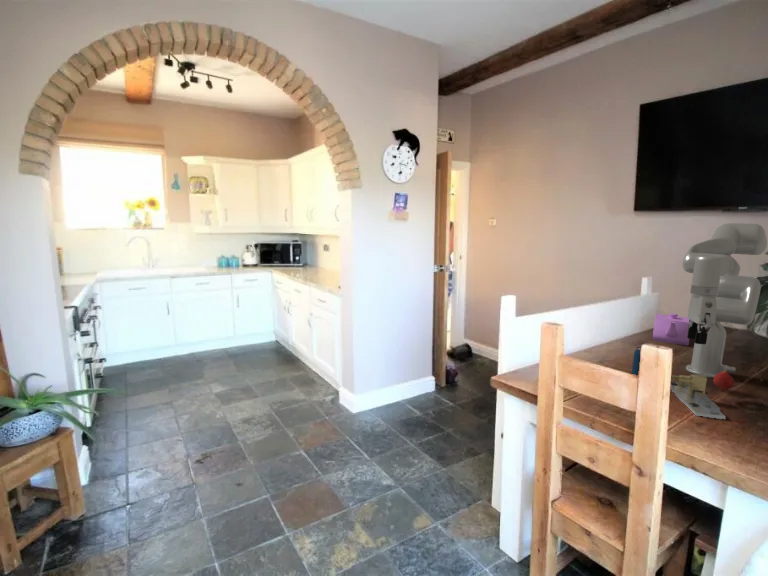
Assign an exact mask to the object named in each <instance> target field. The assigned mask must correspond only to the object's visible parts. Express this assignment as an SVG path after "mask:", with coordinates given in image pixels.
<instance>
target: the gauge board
mask: <svg viewBox="0 0 768 576" xmlns="http://www.w3.org/2000/svg"><path fill="white" fill-rule="evenodd" d="M670 379H672V381H670V382H671V390H672V391H671V390H670V391H671V392H672V393H673V392H674V393H675V394H674V393H673V394H674V395H675V396H676V397H677V398H678V400H679V401H680V402H681V403H684V404H685V405H686V406H687V407H688V408H689V409H690V410H691V411H692V412H693V413H694V414H695V415H696V416H695V415H694V414H693V413H692V412H691V411H690V410H689V409H688V408H687V407H686V406H685V405H684V404H683V405H684V406H685V407H686V408H687V409H688V410H689V411H690V412H691V413H692V414H693V415H694V416H695V417H699V416H703V417H702V418H707V417H709V418H708V419H714V418H716V419H717V420H722V419H724V421H725V420H726V415H725V414H724V413H723V412H722V411H721V408H720V407H719V406H718V405H717V404H716V403H715V402H714V401H712V399H710V397H708V396H707V395H706V394H704V393H703V392H702V391H697V390H693V393H692V395H689V394H688V393H687V391H688V386H689V383H686V388H683V383H684V382H678V381H677V382H676V379H677V380H678V379H684V380H690V375H682V374H679V375H673V374H672V376H671V378H670Z"/></svg>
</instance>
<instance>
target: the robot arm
mask: <svg viewBox="0 0 768 576" xmlns="http://www.w3.org/2000/svg"><path fill="white" fill-rule="evenodd" d="M766 234H767V233H766V230H765V229H764V227H763V226H762V225H760V224H758V223H739V222H738V223H737V222H735V223H734V222H731V223H724V224H721V225H719V226H718V227H717V228H716V229H715V231H714V233H713V234H712V236H711V238H710V239H707V240H704V241H701V242H698V243H696V244H693V245H692V246H691V247H689V249H688V250H687V252H686V254H684V257H683V260H682V269H683V270H684V271H685V272H686V273H689V274H692V278H691V279H692V280H691V285H690V290H689V294H690V299H689V300H690V301H689V305H688V308H687V309H688V310H687V318H689V327H690V328H689V329H688V336H687V338H688V339H689V340H694V345H693V348H692V349H693V350H692V357H691V363H690V364H687V365H686V366H685V370H686V371H687V372H689V373H690V374H691V373H692V374H693V375H702V376H705V377H706V378H713V379H714V376H715V375H717V374H718V373H720V372H723V371H724V370H726V371H727V372H730V373H731V372H732V373H735V372H736V367H734V366H729V365H726V364H723V357H724V351H725V346H726V339H727V331H726V329H725V327H724V326H723V324H722V323H728V324H733V325H741V326H748V325H750V324H752V322H753V321H754V319H755V315H756V311H757V307H758V303H759V298H760V294H761V290H762V289H761V286H762V285H761V282H760V280H759V279H758V278H756V277H754V276H753V277H752V276H745V275H740V270H741V266H740V264H739V262H738V261H737V260H736V259H735V258H734V257H733V256H732V255H747V256H748V255H749V256H758V255H762V254H764V252H765V251H766V248H767V246H768V245H767V244H768V239H767V235H766Z"/></svg>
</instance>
